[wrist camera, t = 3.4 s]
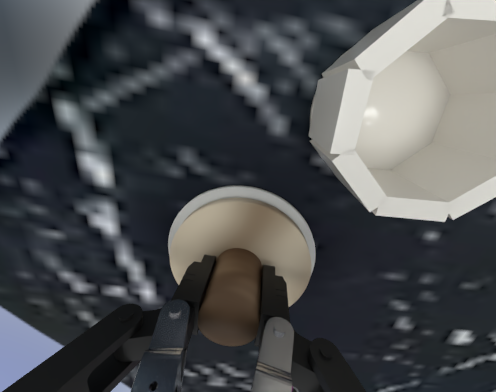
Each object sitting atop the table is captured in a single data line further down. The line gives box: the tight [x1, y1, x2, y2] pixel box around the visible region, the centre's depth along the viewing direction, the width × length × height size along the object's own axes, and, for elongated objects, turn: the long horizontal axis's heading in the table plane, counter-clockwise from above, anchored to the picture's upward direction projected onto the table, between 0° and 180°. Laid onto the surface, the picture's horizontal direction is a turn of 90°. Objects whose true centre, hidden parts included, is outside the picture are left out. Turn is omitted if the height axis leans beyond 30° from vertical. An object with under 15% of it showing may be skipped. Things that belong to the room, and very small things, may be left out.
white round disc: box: [168, 185, 316, 276], centre depth 16 cm, size 10×10×1 cm
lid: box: [170, 198, 311, 346], centre depth 13 cm, size 9×9×5 cm
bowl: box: [309, 0, 496, 222], centre depth 10 cm, size 7×7×5 cm
